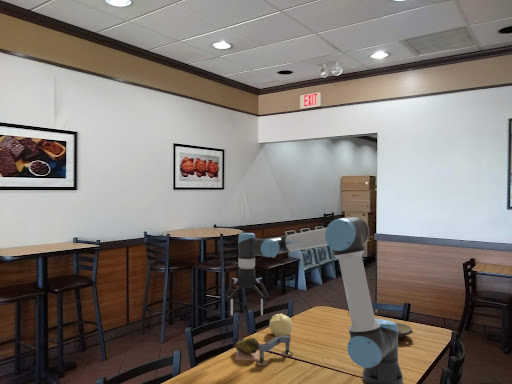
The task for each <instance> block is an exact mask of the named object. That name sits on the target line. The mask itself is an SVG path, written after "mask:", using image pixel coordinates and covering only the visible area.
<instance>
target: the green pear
mask: <svg viewBox="0 0 512 384" xmlns="http://www.w3.org/2000/svg"><path fill="white" fill-rule="evenodd" d="M259 344H260V342H259V341H258V340H257V339H256V338H254V337H247V338H245V339H243V340H239V341H237V342H235V346H234V347H235V349H236V350H238V351H240V352H243V353H245V354H251V353H256V351H257V350H258V351H259Z"/></svg>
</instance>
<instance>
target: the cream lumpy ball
mask: <svg viewBox="0 0 512 384" xmlns="http://www.w3.org/2000/svg"><path fill="white" fill-rule="evenodd" d="M268 325H269V329H270V333H271V334H272V335H274V337H276V336H290V334H291V333H292V332H293V321H292V319H291V318H290V317H289V316H288V315H286V314H283V313H276V314H274V315H272V317H271V318H270V319H269V323H268Z"/></svg>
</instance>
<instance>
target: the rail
mask: <svg viewBox="0 0 512 384" xmlns="http://www.w3.org/2000/svg"><path fill="white" fill-rule="evenodd" d="M279 344H285V347H284V348H285V350H283V351H282V352H281V356H283V357H286V358H289V357H290V358H291V357H293V356H294V352H293V351H290V344H291V336H290V335H287V336H274V337H273V338H271V339H270V340H268V341H267V342H265V343H259V349H258V352H259V359H258V360H255V365H256V366H258V367H265V366H268V360H266V359H265V355H264V354H265V353H264V352H270V351H271V350H272V349H274V348H275V347H277V346H278V345H279Z"/></svg>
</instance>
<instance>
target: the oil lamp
mask: <svg viewBox="0 0 512 384" xmlns="http://www.w3.org/2000/svg"><path fill="white" fill-rule="evenodd" d="M395 323H396V324H397V326H398V338H401V337H405V336H409V335H410V334H413V333H414V331H413V329H412V328H411V326H410V325H406V324H405V323H404V324H403V323H397V322H395Z"/></svg>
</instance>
